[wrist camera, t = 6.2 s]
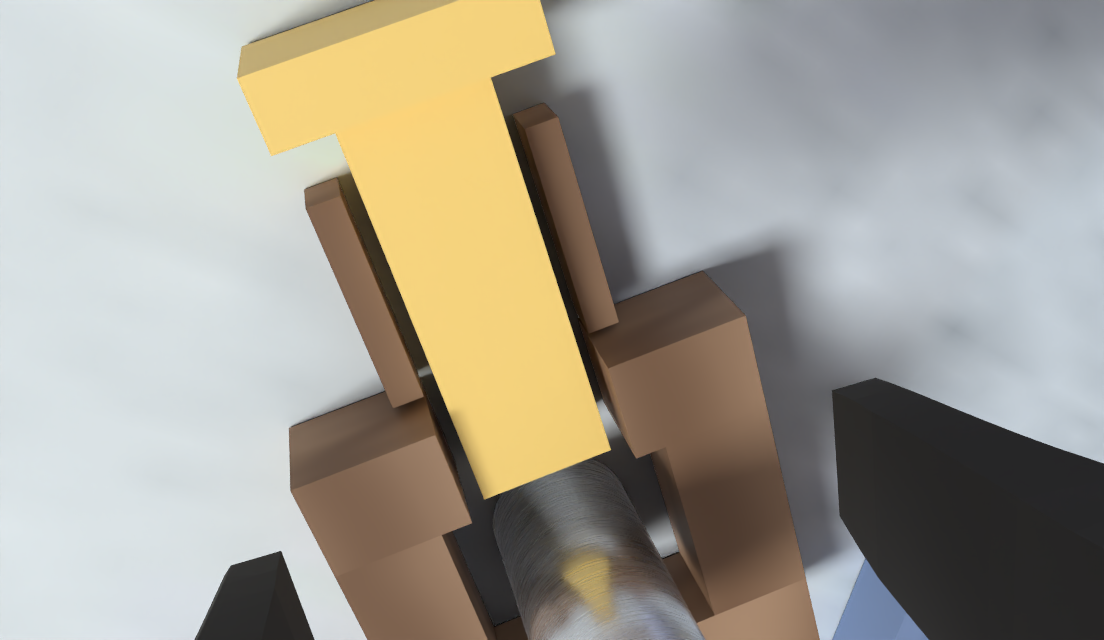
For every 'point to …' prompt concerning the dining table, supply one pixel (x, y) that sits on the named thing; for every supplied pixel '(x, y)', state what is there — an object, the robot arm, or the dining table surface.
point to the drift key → (445, 209)
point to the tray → (875, 613)
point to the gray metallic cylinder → (586, 561)
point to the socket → (633, 401)
